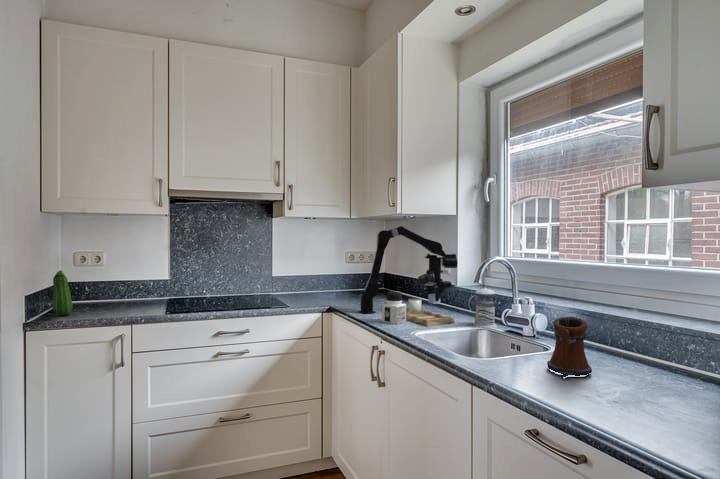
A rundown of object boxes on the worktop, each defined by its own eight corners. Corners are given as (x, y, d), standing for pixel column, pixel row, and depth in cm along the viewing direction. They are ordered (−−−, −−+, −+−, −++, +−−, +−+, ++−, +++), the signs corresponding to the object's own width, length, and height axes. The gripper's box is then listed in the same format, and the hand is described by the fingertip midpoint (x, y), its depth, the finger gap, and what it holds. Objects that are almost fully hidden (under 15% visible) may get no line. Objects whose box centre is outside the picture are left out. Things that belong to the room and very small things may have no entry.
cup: (405, 314, 210) (406, 299, 209) (416, 313, 212) (416, 298, 212) (413, 316, 204) (413, 300, 204) (423, 315, 207) (424, 300, 207)
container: (396, 324, 186) (397, 293, 185) (381, 322, 190) (381, 291, 190) (406, 321, 192) (406, 291, 191) (391, 319, 196) (391, 290, 196)
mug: (585, 388, 112) (587, 329, 112) (537, 379, 119) (538, 323, 118) (594, 370, 127) (595, 318, 127) (551, 363, 134) (552, 313, 133)
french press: (498, 328, 181) (499, 266, 180) (468, 326, 183) (469, 266, 183) (495, 323, 191) (496, 265, 190) (467, 321, 193) (468, 264, 192)
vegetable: (71, 316, 194) (71, 270, 194) (51, 317, 191) (51, 271, 190) (73, 313, 200) (73, 269, 200) (54, 314, 197) (54, 269, 197)
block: (428, 302, 214) (428, 294, 214) (434, 302, 216) (435, 293, 216) (433, 303, 211) (433, 295, 211) (440, 303, 213) (440, 294, 213)
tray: (400, 317, 201) (400, 312, 201) (425, 315, 208) (425, 310, 208) (427, 326, 183) (427, 320, 183) (454, 323, 190) (454, 318, 190)
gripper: (409, 266, 217) (409, 298, 218) (433, 270, 201) (432, 304, 201) (428, 266, 223) (427, 297, 223) (452, 269, 206) (452, 303, 207)
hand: (434, 300), depth 213 cm, fingers closed on block, 4 cm apart
